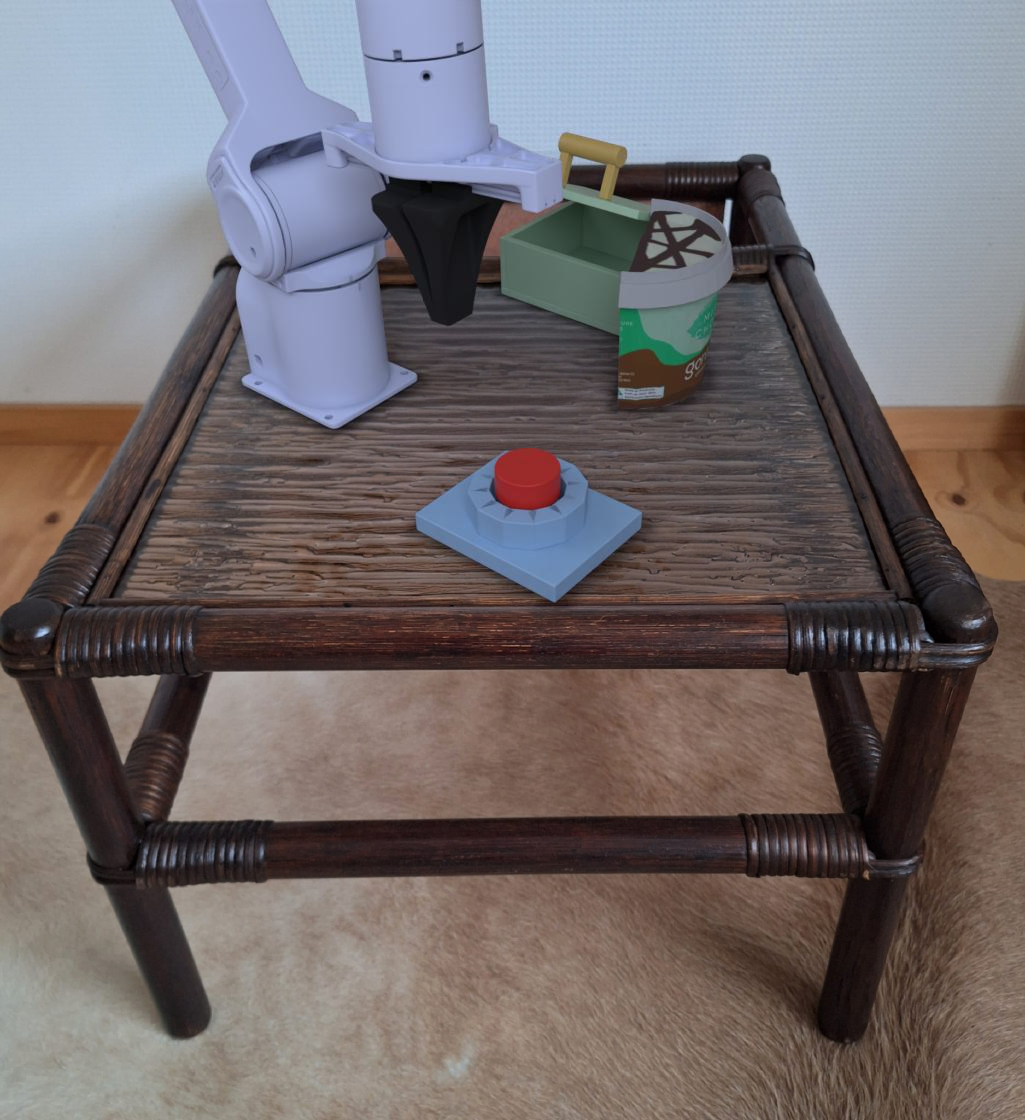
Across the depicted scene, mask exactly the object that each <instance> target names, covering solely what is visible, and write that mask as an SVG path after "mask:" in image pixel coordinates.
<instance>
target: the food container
mask: <svg viewBox="0 0 1025 1120" xmlns="http://www.w3.org/2000/svg"><path fill="white" fill-rule="evenodd" d="M650 206H651V215H650V221H649V224H648V226H647V228H646V230H645V232H644V234H643V236H642V237H641V239H640V241H639V244H638V248H637V251H636V254H635V256H634V259H633V262H632V265H631V267H630V270H629V272H624V271H621V283H620V292H619V305H618V308H620V335H619V338H618V339H619V340H618V378H617V381H618V382H617V409H623V410H624V409H625V410H646V409H657V408H661V407H665V406H670V405H674V404H677V403H680V402H682V401H683V400H685V399H687V398H689V397H690V396H693V395H694V394H695V393H696V392H697V390H698V389H699V388H700V387H701V385H702V383H703V379H704V376H705V375H704V374H705V369H706V365H707V359H708V353H709V348H710V342H711V336H712V332H713V326H714V320H715V315H716V310H717V305H718V301H719V300H718V299H719V294H720V290H721V289H722V288H723V287H724V286H726V285H727V284H728V282H729V281H730V280H731V278H732V275H733V274H734V259H733V250H732V243H731V240H730V237H729V236H728V232H727V229H726V227H725V226H724V224H723V223H722V222H721V221H720V220H719V219H718V218H717V217H715V216H714V215H712V214H711V213H709V212H707V211H705V210H703V209H700V208H699V207H696V206H692V205H690V204H686V203H682V202H679V201H674V200H667V199H662V198H661V199H660V198H651V203H650Z"/></svg>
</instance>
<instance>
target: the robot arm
mask: <svg viewBox="0 0 1025 1120" xmlns="http://www.w3.org/2000/svg"><path fill="white" fill-rule="evenodd" d="M170 1H171V3H172V5H173V7H174V9H175V12H176V13H177V16H178V18H179V20H180V22H181V24H182V26H183V28H184V31H185V32H186V35H187V37H188V40H189V41H190V44H191V45H192V48H193V49H194V52H195V54H196V56H197V58H198V60H199V62H200V64H201V67H202V69H203V72H204V73H205V75H206V78H207V79H208V81H209V83H210V86H211V87H212V90H213V92H214V94H215V97H216V98H217V101H218V103H219V105H220V107H221V109H222V111H223V113H224V115H225V117H226V120H227V124H226V126H225V128H224V129H223V131H222V132H221V134H220V136H219V138H218V140H217V142H216V143H215V145H214V147H213V148H212V150H211V152H210V155H209V157H208V161H207V165H206V172H205V178H206V182H207V185H208V188H209V189H210V192H211V195H212V197H213V200H214V203H215V205H216V208H217V211H218V218H219V224H220V226H221V230H222V233H223V236H224V239H225V242H226V243H227V245H228V248H229V250H230V251H231V253H232V255H233V257H234V258H235V260H236V262H237V263H238V264H239V265H240V267H241V268H240V271H239V273H238V276H237V280H236V285H235V301H236V306H237V311H238V316H239V321H240V326H241V331H242V334H243V339H244V345H245V349H246V354H247V359H248V364H249V369H250V373H248V374H246V375H244V376H243V377H242V378H241V382H242V383H241V384H242V385H243V386H244V387H246V388H248V389H250V390H252V391H254V392H256V393H258V394H260V395H262V396H264V397H266V398H268V399H270V400H272V401H274V402H276V403H279V404H280V405H282V406H284V407H286V408H288V409H290V410H293V411H295V412H296V413H298V414H301V415H302V416H304V417H307V418H308V419H311V420H313V421H315V422H317V423H318V424H321V425H323V426H325V427H327V428H329V429H333V430H336V429H339V428H341V427H343V426H344V425H346V424H348V423H350V422H351V421H353V420H354V419H357V418H358V417H359V416H361V415H363V414H366V412H368V411H369V410H371V409H373V408H375V407H376V406H378V405H380V404H382V403H383V402H384V401H386V400H388V399H390V398H391V397H394V396H395V395H396V394H398V393H399V392H401V391H403V390H405V389H406V388H408V387H410V386H411V385H413V384H414V383H416V382H417V381H418V374H417V373H416V372H415V371H413V370H410V369H407V368H405V367H403V366H401V365H398V364H396V363H394V362H391V361H389V357H388V347H387V340H386V339H387V338H386V331H385V321H384V312H383V303H382V293H381V286H380V285H381V284H380V277H379V269H378V267H379V266H378V262H380V261H381V260H383V259H385V258H387V248H386V247H387V246H386V241H388V240H390V239H391V238H392V239H393V240H394V241H395V243H396V245H397V247H398V248H399V250H400V252H401V253H402V255H403V257H404V259H405V261H406V263H407V265H408V267H409V269H410V272H411V274H412V276H413V278H414V281H415V284H416V286H417V288H418V291H419V294H420V296H421V298H422V302H423V304H424V306H425V308H426V311H427V313H428V316H429V319H430V320H431V321H430V322H434V323H436V324H439V325H443V326H445V327H451V326H453V325H455V324H457V323H458V322H460V321H463V320H464V319H466V318H467V317H470V316H471V315H473V312H474V306H475V298H476V292H477V286H478V280H479V275H480V270H481V265H482V260H483V258H484V253H485V250H486V246H487V243H488V240H489V238H490V234H491V232H492V229H493V227H494V224H495V222H496V220H497V218H498V216H499V213H500V211H501V209H502V207H503V205H504V204H505V202H506V201H508V202H512V203H517V204H520V205H521V210H522V211H524V212H528V213H533V214H537V215H538V214H540V213H542V212H544V211H545V210H548V209H550V208H552V207H554V206H556V205H557V204H559V203H562V202H563V201H564V198H563V187H562V161H561V160H559V159H557V158H552V157H549V156H545V155H541V154H538V153H536V152H534V151H531V150H529V149H527V148H524V147H522V146H521V145H519V144H516V143H514V142H511V141H509V140H507V139H505V138H502V137H501V136H499V126H498V124H495V123H491V119H490V117H491V116H490V107H489V92H488V91H489V90H488V79H487V67H486V66H487V65H486V51H485V38H484V27H483V26H484V25H483V12H482V11H483V10H482V1H481V0H354V2H355V9H356V16H357V17H356V18H357V23H358V24H357V25H358V32H359V38H360V46H361V51H362V60H363V67H364V75H365V81H366V88H367V94H368V103H369V109H370V110H369V111H370V117H371V122H369V121H368V122H367V121H361V120H360V119H359V117H358V114H357V113H356V111H354V110H353V109H351V108H349V107H347V106H345V105H344V104H341V103H339V102H337V101H335V100H332V99H331V98H329V97H326V96H324V95H321V94H319V93H317V92H316V91H313V90H311V89H309V88H308V87H307V85H306V83H305V82H304V80H303V77H302V75H301V73H300V71H299V68H298V66H297V64H296V62H295V60H294V57H293V56H292V53H291V51H290V48H289V47H288V45H287V43H286V40H285V38H284V36H283V33H282V32H281V29H280V27H279V25H278V23H277V20H276V18H275V16H274V14H273V12H272V10H271V7H270V5H269V3H268V1H267V0H170Z"/></svg>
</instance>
